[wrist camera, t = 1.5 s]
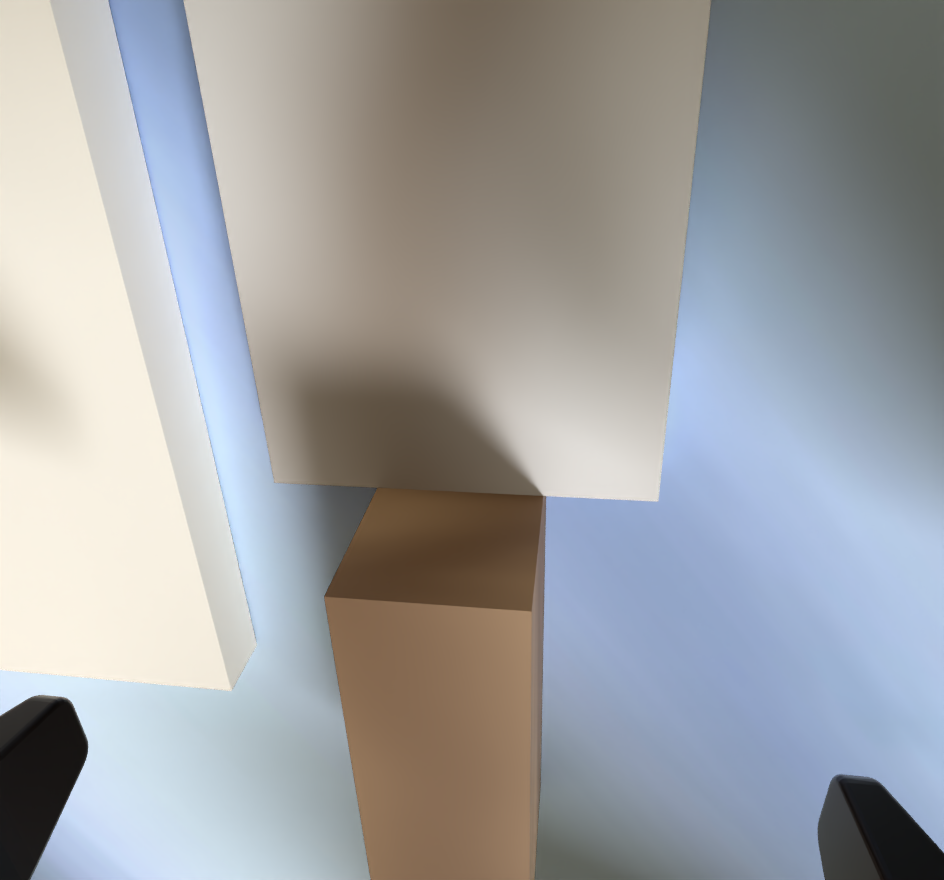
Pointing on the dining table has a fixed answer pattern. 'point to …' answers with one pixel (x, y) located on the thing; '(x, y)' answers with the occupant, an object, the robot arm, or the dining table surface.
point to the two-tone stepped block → (454, 345)
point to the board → (99, 386)
